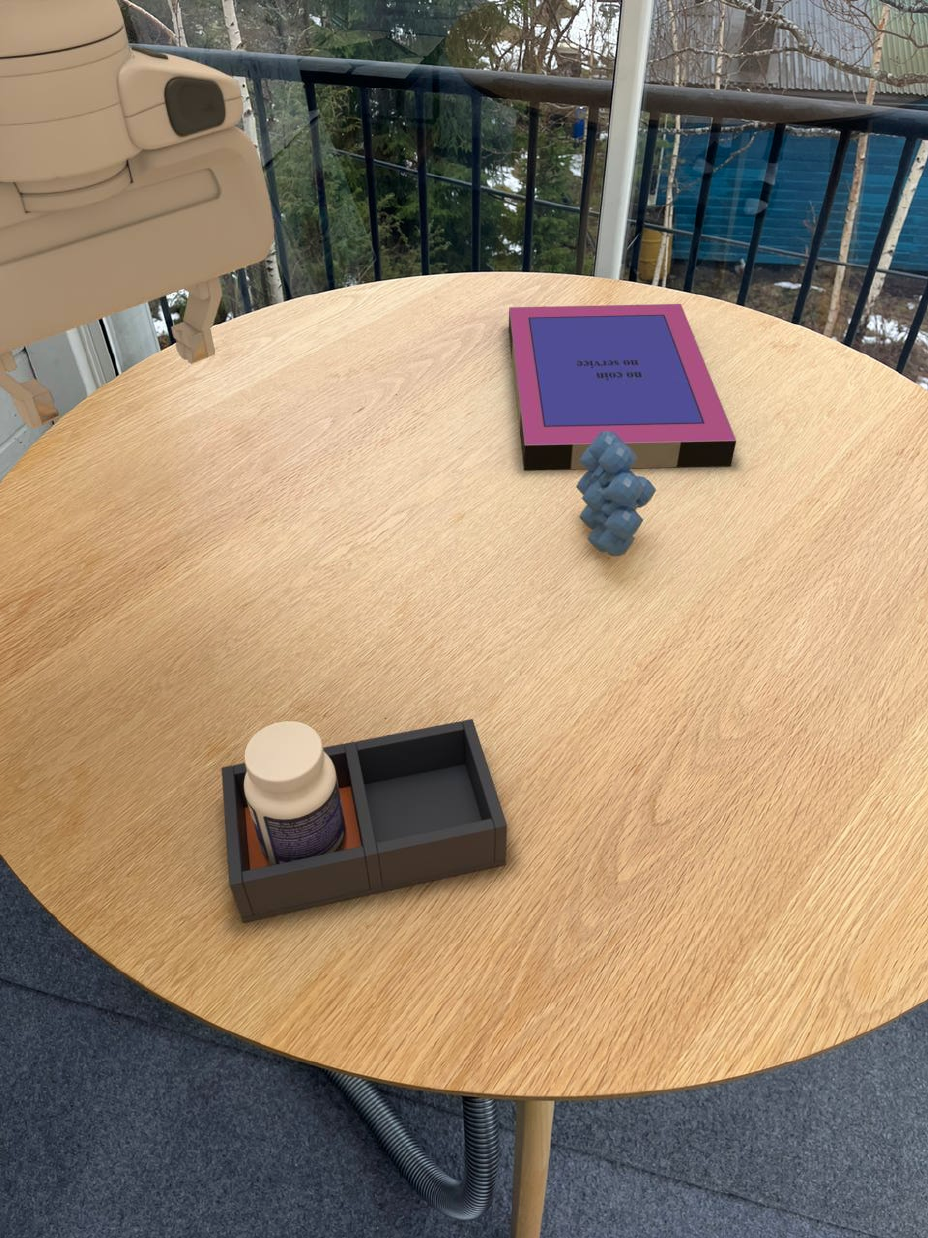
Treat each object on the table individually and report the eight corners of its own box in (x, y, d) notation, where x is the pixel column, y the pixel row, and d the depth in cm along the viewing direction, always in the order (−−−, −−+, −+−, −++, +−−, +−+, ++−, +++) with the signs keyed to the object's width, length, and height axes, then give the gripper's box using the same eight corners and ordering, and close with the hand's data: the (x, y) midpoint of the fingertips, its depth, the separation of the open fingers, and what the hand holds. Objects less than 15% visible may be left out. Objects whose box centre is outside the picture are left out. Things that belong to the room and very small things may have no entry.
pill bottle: (364, 829, 64) (349, 736, 57) (313, 895, 60) (291, 804, 53) (297, 794, 66) (275, 700, 59) (244, 855, 62) (214, 763, 55)
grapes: (668, 583, 83) (690, 470, 74) (594, 593, 82) (607, 480, 73) (629, 504, 91) (644, 394, 82) (561, 512, 90) (569, 402, 82)
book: (680, 303, 115) (736, 440, 93) (677, 326, 117) (730, 465, 95) (509, 307, 115) (524, 445, 93) (508, 330, 117) (523, 470, 95)
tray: (242, 923, 60) (229, 885, 57) (233, 806, 66) (221, 767, 63) (505, 864, 63) (507, 825, 59) (473, 758, 69) (472, 718, 66)
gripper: (-188, 187, 35) (-43, 491, 44) (268, 75, 45) (306, 343, 54) (-238, 147, 38) (-93, 438, 48) (197, 52, 48) (244, 308, 58)
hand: (122, 386), depth 51 cm, fingers open, 8 cm apart
